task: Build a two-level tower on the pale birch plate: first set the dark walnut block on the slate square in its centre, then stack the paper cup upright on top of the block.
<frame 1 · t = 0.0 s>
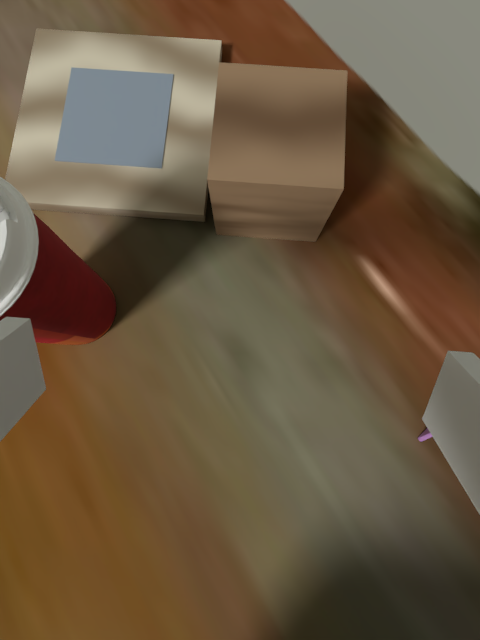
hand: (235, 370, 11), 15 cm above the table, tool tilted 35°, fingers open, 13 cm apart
walnut block: (268, 193, 29), on the table
blueprint plate: (120, 127, 30), on the table
paper cup: (81, 310, 28), on the table
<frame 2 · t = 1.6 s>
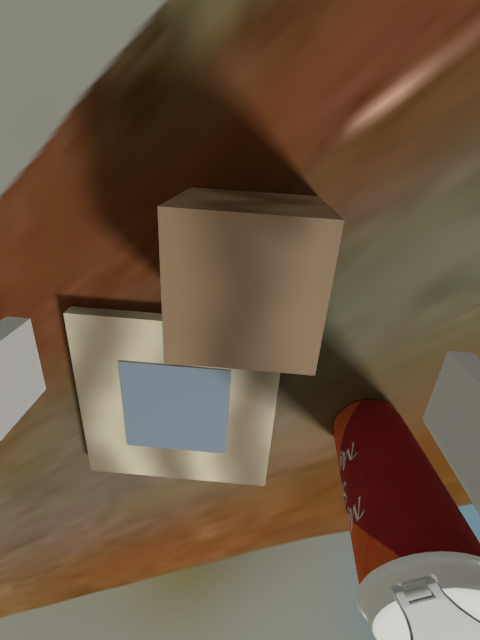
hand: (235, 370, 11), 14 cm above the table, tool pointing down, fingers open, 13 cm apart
walnut block: (249, 253, 24), on the table
blueprint plate: (179, 400, 30), on the table
paper cup: (366, 423, 30), on the table
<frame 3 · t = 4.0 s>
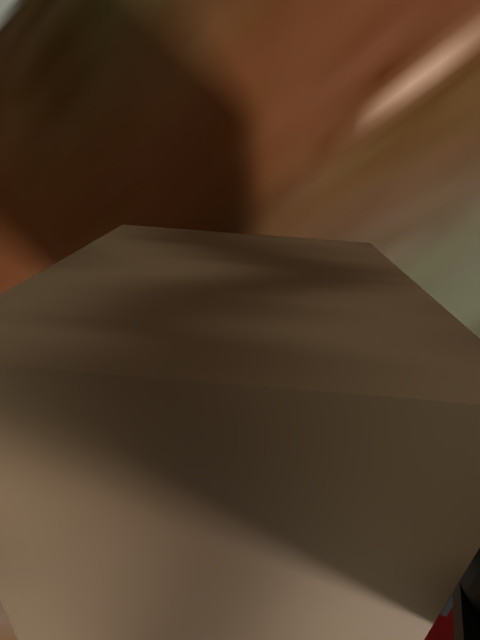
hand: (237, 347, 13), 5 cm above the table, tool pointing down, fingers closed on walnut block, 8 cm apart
walnut block: (237, 341, 13), point 5 cm above the table, touching gripper
paper cup: (378, 492, 24), on the table
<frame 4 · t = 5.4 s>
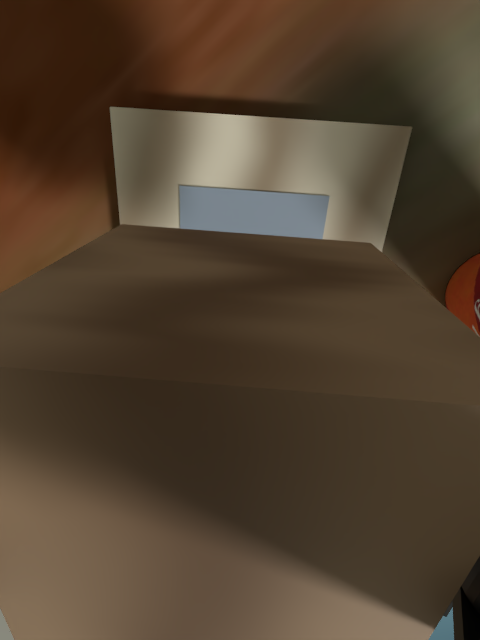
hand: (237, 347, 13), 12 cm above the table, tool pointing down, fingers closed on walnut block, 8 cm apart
walnut block: (237, 341, 13), point 11 cm above the table, touching gripper
blueprint plate: (249, 257, 23), on the table
when the fingers open (2 cm above the table, at t = 6.7 s): walnut block stays where it is, resting on blueprint plate.
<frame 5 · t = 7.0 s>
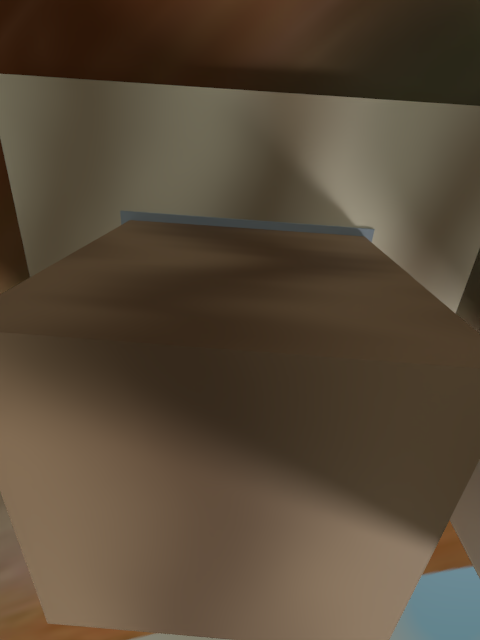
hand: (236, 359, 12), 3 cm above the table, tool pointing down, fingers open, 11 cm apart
walnut block: (239, 331, 14), point 1 cm above the table, touching blueprint plate
blueprint plate: (240, 317, 15), on the table
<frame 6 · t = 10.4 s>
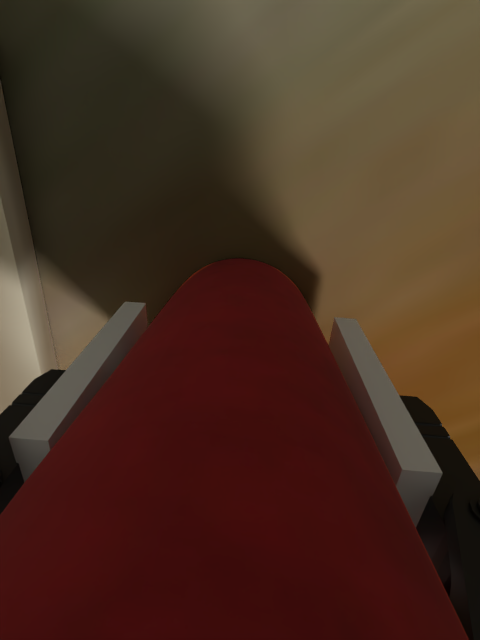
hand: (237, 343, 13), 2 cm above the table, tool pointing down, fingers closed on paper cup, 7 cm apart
paper cup: (240, 322, 15), on the table, touching gripper
when the fingers open (12 cm above the table, at t = 13.9 s): paper cup stays where it is, resting on walnut block.
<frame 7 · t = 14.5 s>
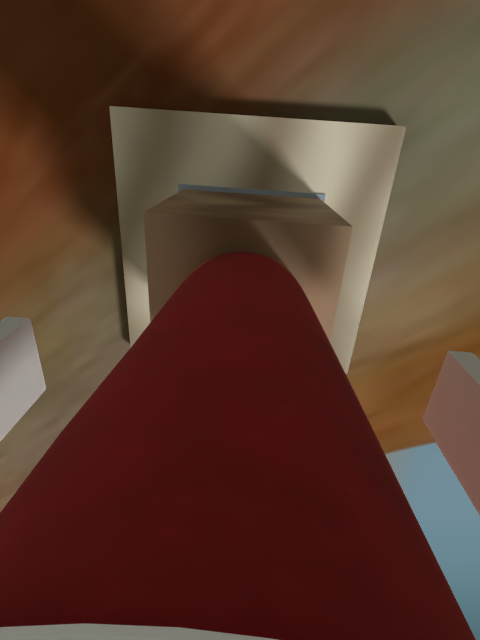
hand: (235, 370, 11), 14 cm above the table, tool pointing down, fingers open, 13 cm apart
walnut block: (246, 260, 22), point 1 cm above the table, touching blueprint plate, paper cup
blueprint plate: (247, 255, 24), on the table
paper cup: (242, 313, 15), point 9 cm above the table, touching walnut block
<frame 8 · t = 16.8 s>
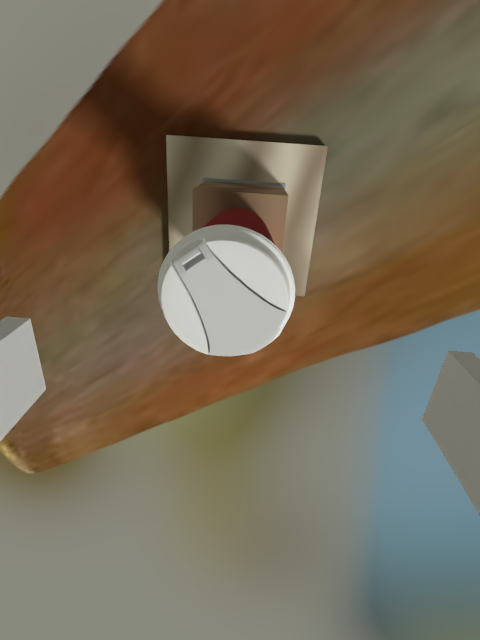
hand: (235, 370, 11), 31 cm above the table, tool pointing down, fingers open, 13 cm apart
walnut block: (241, 222, 38), point 1 cm above the table, touching blueprint plate, paper cup
blueprint plate: (241, 220, 39), on the table
paper cup: (238, 240, 31), point 9 cm above the table, touching walnut block
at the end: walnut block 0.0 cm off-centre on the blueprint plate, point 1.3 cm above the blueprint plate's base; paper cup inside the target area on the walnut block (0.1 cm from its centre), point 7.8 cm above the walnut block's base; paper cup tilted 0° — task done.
